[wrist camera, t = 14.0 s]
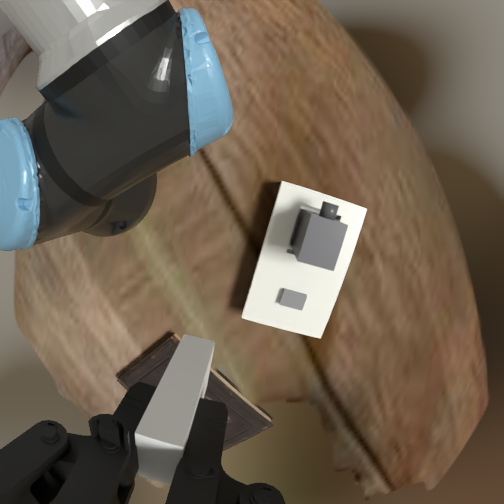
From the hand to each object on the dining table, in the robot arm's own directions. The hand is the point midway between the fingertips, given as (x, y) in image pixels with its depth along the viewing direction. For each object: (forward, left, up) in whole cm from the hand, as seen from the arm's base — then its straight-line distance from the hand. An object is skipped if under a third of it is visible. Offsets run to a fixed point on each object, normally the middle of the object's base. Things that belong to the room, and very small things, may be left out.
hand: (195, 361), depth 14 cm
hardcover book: (-1, -28, -28) cm, 39 cm away
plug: (+8, +5, -27) cm, 28 cm away
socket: (+8, +1, -27) cm, 28 cm away
